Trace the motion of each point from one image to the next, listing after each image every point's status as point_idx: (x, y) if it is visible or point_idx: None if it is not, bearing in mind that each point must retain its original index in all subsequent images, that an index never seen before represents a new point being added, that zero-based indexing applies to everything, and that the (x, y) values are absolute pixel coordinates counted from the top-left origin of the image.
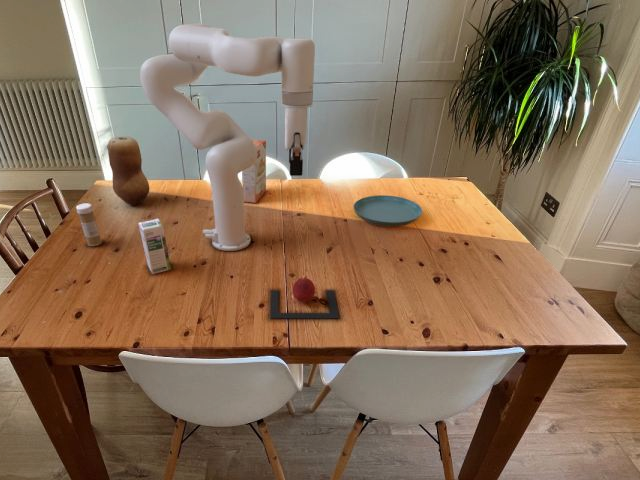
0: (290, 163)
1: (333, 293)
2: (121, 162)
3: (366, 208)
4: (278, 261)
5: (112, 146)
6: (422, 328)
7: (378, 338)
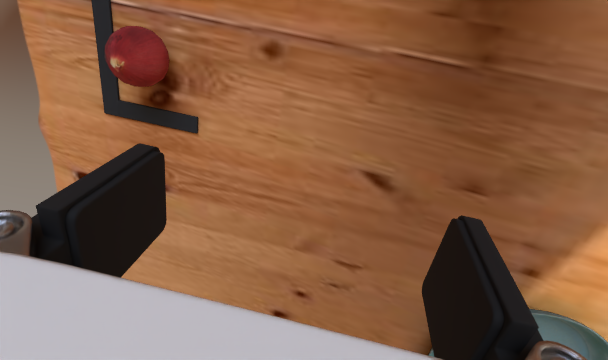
0: (66, 190)
1: (185, 129)
2: None
3: (569, 341)
4: (352, 24)
5: None
6: None
7: (64, 160)
